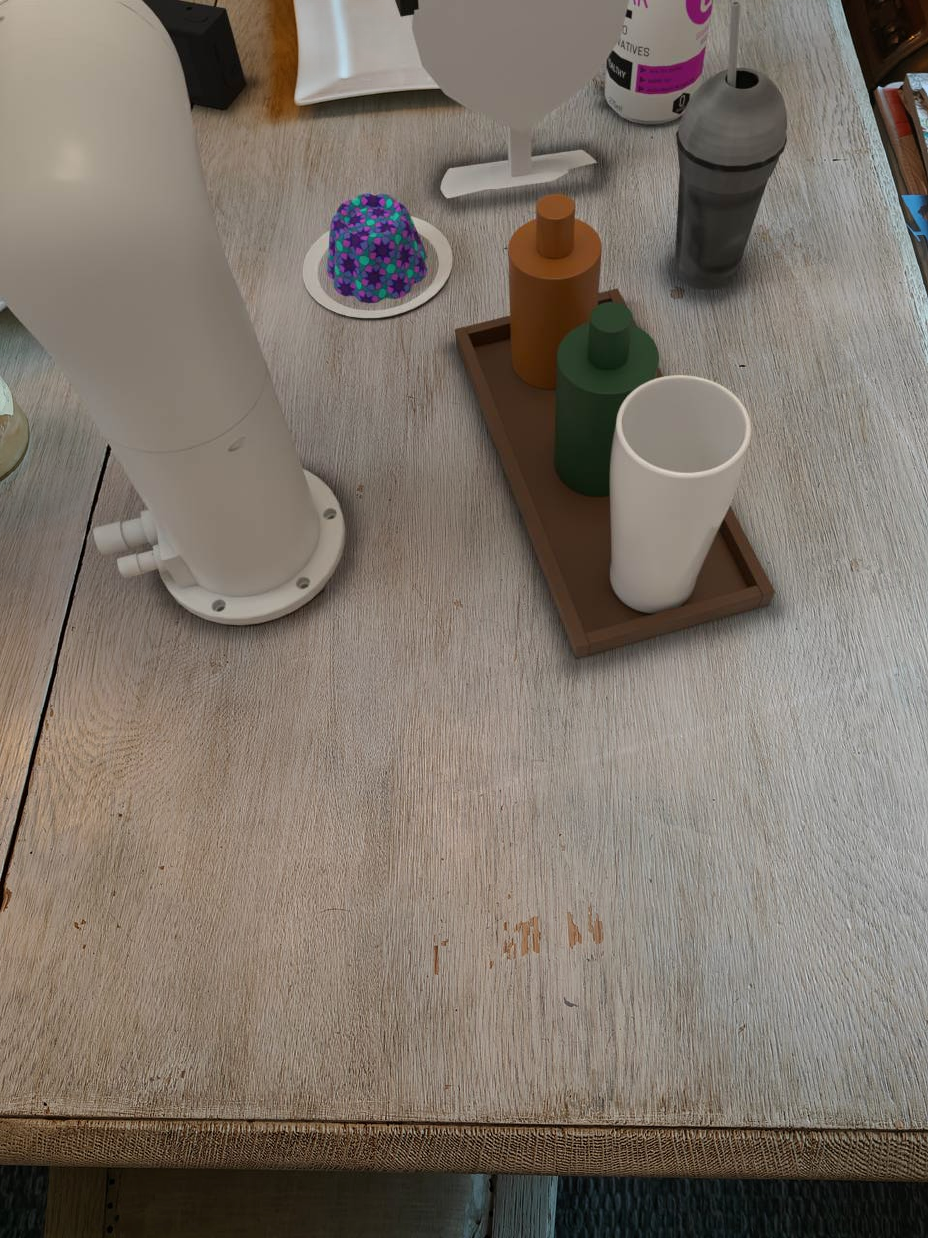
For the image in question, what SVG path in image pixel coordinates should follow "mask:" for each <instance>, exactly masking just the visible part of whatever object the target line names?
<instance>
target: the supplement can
mask: <svg viewBox="0 0 928 1238" xmlns="http://www.w3.org/2000/svg"><path fill="white" fill-rule="evenodd" d="M713 4H714V0H629V3H628V7H627V12H626V16H625V20H624V25H623V29H622V33H621V38H620V39H619V41H618V42H617V44H616V46H615V47H614V49H613V50H612V52H611V54H610V55H609V57H608V58H607V60H606V64H605V82H604V96H605V100H606V102H607V104H608V105H609V106H610V107H611V108H612V109H613V111H615V113H616V114H618V115H619V116H620V117H621V118H623V119H625V120H627V121H630V122H632V123H637V124H642V125H662V124H665V123H669V122H672V121H675V120H676V119H678V118H680V117H682V116H683V114H684V111H685V109H686V106H687V104H688V102H689V100H690V98H691V97H692V95H693V94H694V93H695V91H696V90H697V89H698V88H699V87H700V86H701V81H702V75H703V69H704V62H705V56H706V49H707V43H708V42H707V41H708V37H709V36H708V35H709V29H710V23H711V16H712V11H713Z"/></svg>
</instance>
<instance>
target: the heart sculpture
mask: <svg viewBox="0 0 928 1238" xmlns="http://www.w3.org/2000/svg"><path fill="white" fill-rule="evenodd" d="M628 3H629V0H418V4H419V10H414V15H409V19H410V24H411V30H412V33H413V38H414V41H415V42H414V43H415V45H416V48H417V52H418V55H419V60H420V63H421V67H422V68H423V69H424V70H425V71H426V72H427V74H428V75H429V76H430V77H431V79H432V80H433V81H434V83H435V84H436V85H437V87H439V89H440V91H442V92H443V94H444V96H445V95H446V96H447V97H449V98H450V99H452V100H453V101H455V102H457V103H458V104H460V105H461V106H463V107H465V108H466V109H468V110H469V111H471V112H472V113H474V114H476V115H479V116H481V117H484V118H486V119H489V120H492V121H493V122H496V123H498V124H501V125H503V126H506V127H507V158H508V159H506V160H505V159H504V160H499V161H492V162H485V163H478V164H470V165H464V166H463V165H462V166H457V167H450V168H448V169H447V171H446V173H445V174H444V176H443V178H442V180H441V183H440V188H439V189H440V191H441V193H442V194H443V196H444V197H445V198H446V199H448V200H449V199H452V198H456V197H461V196H464V195H469V194H472V193H473V194H474V193H477V192H481V191H484V190H488V189H489V190H498V189H500V190H501V189H507V188H513V187H521V186H527V185H535V184H541V183H548V182H553V181H555V180H557V179H559V178H561V177H562V176H565V175H567V174H569V170H572V169H576V168H580V167H585V166H588V165H593V164H597V163H598V162H597V160H596V159H595V158H593V157H592V156H591V155H590V154H589V153H587V152H586V151H584V150H583V149H577V150H571V151H563V152H562V151H561V152H556V153H549V154H541V155H535V156H534V155H533V156H532V127H534V125H537V123H539V122H540V121H541V120H543V119H544V118H545V117H547V116H548V115H549V114H551V113H552V112H554V111H556V110H557V109H558V108H559V107H561V106H563V105H564V104H565V103H567V101H569V100H570V99H573V97H574V96H575V95H576V94H577V93H578V92H579V91H581V90H582V89H583V87H585V86H586V85H587V84H588V83H589V82H590V81H591V80H593V78H595V77H596V75H597V74H599V72H600V71H601V69H602V68H603V66H604V65H605V63H606V62H607V58H608V57H609V55H610V54H611V52H612V50H613V49H614V47H615V46H616V44H617V42H618V41H619V39H620V38H621V33H622V29H623V25H624V20H625V16H626V12H627V7H628Z"/></svg>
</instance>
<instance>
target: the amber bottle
mask: <svg viewBox="0 0 928 1238" xmlns="http://www.w3.org/2000/svg"><path fill="white" fill-rule="evenodd" d="M516 229H517V230H515V231H514V233H513V234H512V235H511V237H510V239H509V242H508V245H507V258H508V259H507V260H508V291H509V294H508V295H509V316H510V328H511V360H512V366H513V369H514V370H515V372H516V374H517V375H518V376H519V377H520V378H521V379H522V380H523V381H525V382H526V383H528V384H530V385H532V386H535V387H538V388H542V389H556V372H557V352H558V348H559V345H560V343H561V342H562V340H563V339H564V337H565V336H566V335H567V334H568V333H569V332H570V331H572V330H573V329H574V328H576V327H578V326H580V325H582V324H584V323H587V322H590V314H591V312H592V310H593V309H594V308H595V307H596V306H598V294H599V293H600V281H601V280H600V278H601V263H602V253H603V252H602V251H603V244H602V240H601V238H600V235H599V234H598V232H597V231H596V230H595V229H594V228H593V226H591V225H590V224H589V223H587V222H585V221H583V220H581V219H578V218H576V203H575V202H574V200H573V199H572V198H571V197H570V196H569V195H566V194H562V193H550V194H547V195H544V196H542V197H541V198H540V199H539V200H538V201H537V203H536V206H535V218H534V219H532V220H530V221H528V222H526V223H524V224H522V225H521V226H520V227H518V228H516Z"/></svg>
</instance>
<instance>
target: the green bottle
mask: <svg viewBox="0 0 928 1238" xmlns="http://www.w3.org/2000/svg"><path fill="white" fill-rule="evenodd" d="M626 306H627V305H626ZM626 306H625V305H623V304H620V303H617V302H606V303H602V304H600V305H598V306H596V307H595V308H594V309H593V310H592V312H591V314H590V322H587V323H584V324H582V325H580V326H578V327H576V328H574V329H573V330H572V331H570V332H569V333H568V334H567V335H566V336H565V337H564V339H563V340H562V342H561V343H560V345H559V348H558V352H557V372H556V410H555V448H554V465H555V469H556V472H557V474H558V476H559V478H560V479H561V480H562V482H563V483H564V484H565V485H567V486H568V487H569V488H570V489H572V490H574V491H576V492H578V493H580V494H583V495H587V496H594V497H604V496H610V488H609V475H610V458H611V448H612V441H613V436H614V430H615V425H616V419H617V414H618V411H619V409H620V406H621V405H622V403H623V401H624V400H625V399H626V397H627V396H628V395H629V394H630V393H631V392H632V391H633V390H635V389H636V388H637V387H639V386H640V385H642V384H644V383H646V382H648V381H650V380H653V379H656V376H657V370H658V367H659V363H660V353H659V349H658V346H657V344H656V342H655V340H654V339H653V338H652V336H651V335H650V334H649V333H648V332H646V331H645V330H644V329H642V328H641V327H639V326H638V325H637V324H636V325H637V326H636V325H633V324H632V320H633V319H634V317H633V312H632V310H631V309H630V308H629V307H628V306H627V307H626Z"/></svg>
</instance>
